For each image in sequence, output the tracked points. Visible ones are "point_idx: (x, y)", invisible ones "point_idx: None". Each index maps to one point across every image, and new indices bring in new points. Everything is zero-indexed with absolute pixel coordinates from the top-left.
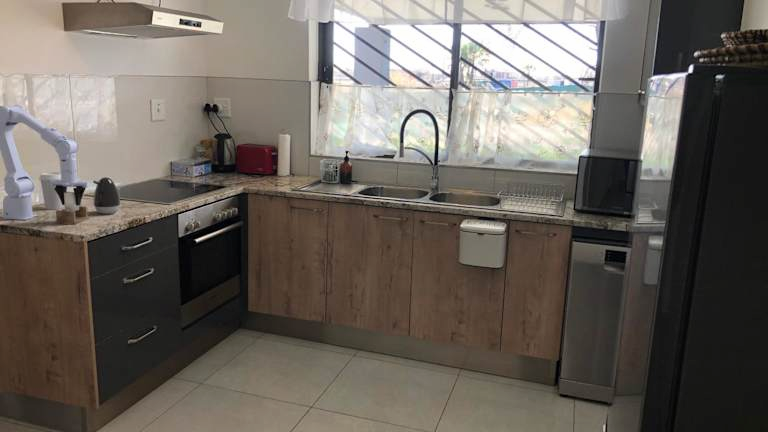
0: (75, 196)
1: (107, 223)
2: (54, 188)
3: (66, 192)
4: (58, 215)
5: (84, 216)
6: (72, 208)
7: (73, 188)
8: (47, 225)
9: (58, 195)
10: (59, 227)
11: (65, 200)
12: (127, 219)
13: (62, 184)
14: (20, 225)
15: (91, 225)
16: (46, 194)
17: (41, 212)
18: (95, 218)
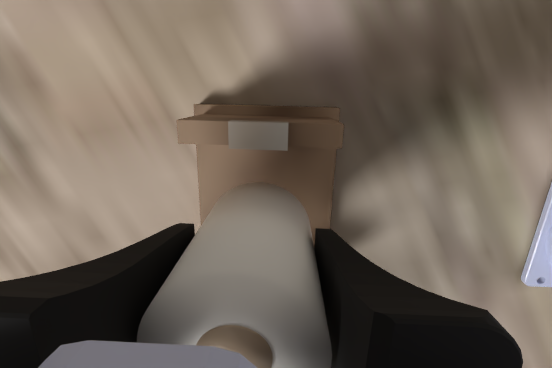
0: (138, 259)
1: (39, 169)
2: (505, 332)
3: (293, 344)
4: (317, 120)
5: None
6: (226, 196)
7: (17, 317)
8: (361, 50)
9: (385, 271)
10: (255, 4)
11: (282, 228)
12: (5, 274)
13: (218, 361)
14: (547, 14)
15: (93, 102)
16: None
17: (526, 356)
18: None
